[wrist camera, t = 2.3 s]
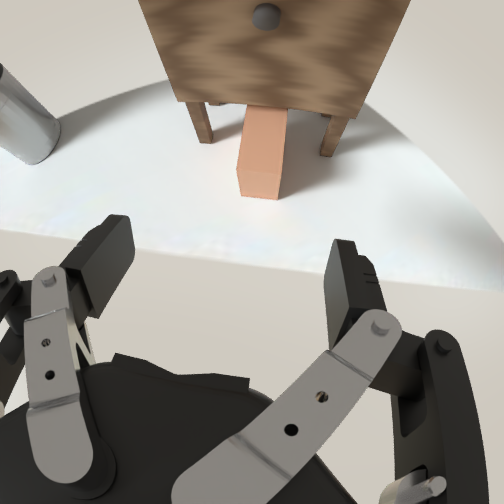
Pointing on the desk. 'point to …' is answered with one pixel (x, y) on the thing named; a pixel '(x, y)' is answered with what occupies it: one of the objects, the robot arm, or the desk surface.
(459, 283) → the desk surface
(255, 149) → the terracotta block
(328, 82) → the walnut cabinet
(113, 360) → the robot arm
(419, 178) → the desk surface
